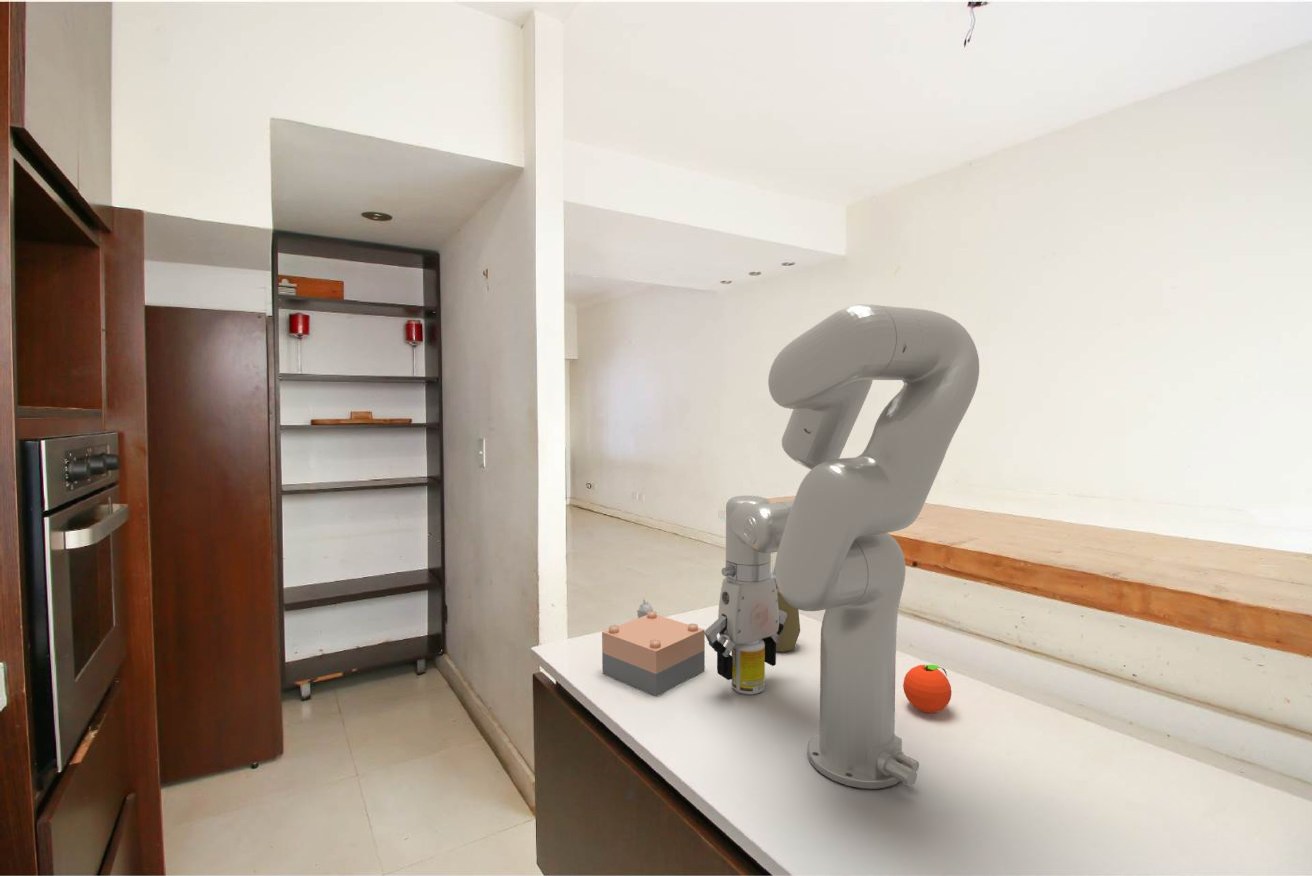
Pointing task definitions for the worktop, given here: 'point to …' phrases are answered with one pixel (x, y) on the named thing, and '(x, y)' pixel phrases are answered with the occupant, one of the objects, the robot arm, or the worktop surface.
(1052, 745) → the worktop surface
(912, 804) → the worktop surface
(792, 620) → the squeeze bottle
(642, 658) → the pink and grey block
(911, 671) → the clementine
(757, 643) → the supplement bottle
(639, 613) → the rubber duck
